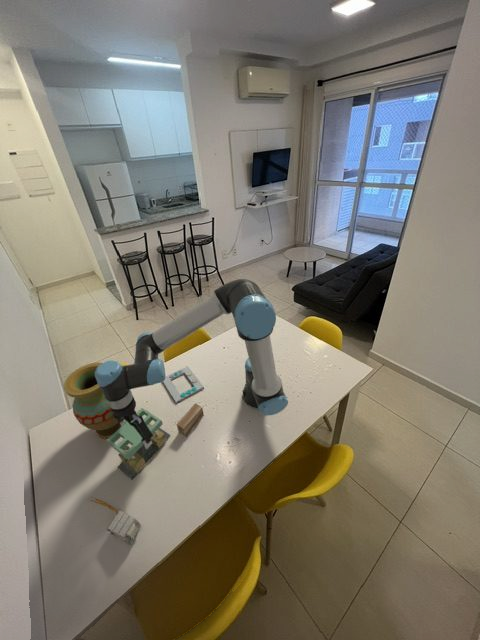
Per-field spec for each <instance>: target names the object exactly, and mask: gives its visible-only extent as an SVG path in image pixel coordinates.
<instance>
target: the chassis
mask: <svg viewBox="0 0 480 640" xmlns="http://www.w3.org/2000/svg"><path fill="white" fill-rule="evenodd" d="M152 425H153V424H151V423H149V424H148V426H149V427H151V426H152ZM170 437H171V434H170V433H168V432H167V431H165V430H164V429H163V428H161V427H160V428H159V429H158V430H157V431H156V432H155V433H154V434H153V436H152V437H151V441H152V444H151V445H150V446H149V447H148V449H146V448H145V446H144V444H143V445H142V447H141V448H140V449H139V450H138V451H137V452H136V453H135V454H134V455H133V456H132V457H131V458H130V459H129V460H128V459H126V458H125V457H124V456H123V455H121V454H120V453H119V452H118V455H117V456H118V457H119V459H120V461H121V463H120V464H119V465H118V466H117V467H116V468H117V469H118V470H119V471H120V472H122V473H123V474H124V475H126V477H128V479H130V480H131V481H132V480H133V479H134V478H135V477H136V476H137V475H138V474H139V473H140V471H141V470H142V469H143V468H144V467H145V466H146V465H147V463H148V462H149V461H150V460H151V459H152V458H153V457H154V455H155V454H156V453H158V451H159V450H160V449H161V447H163V445H164V444H165V443H166V442H167V441H168V439H170ZM130 447H131V446H128V445H127V446H126V447H125V448H124V449H123V451H125V452H127V451H128V449H129V448H130Z"/></svg>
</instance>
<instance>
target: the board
mask: <svg viewBox="0 0 480 640" xmlns="http://www.w3.org/2000/svg"><path fill="white" fill-rule="evenodd" d="M136 414H137V415H138V417H139V416H142V417H143V416H146V417H144V418H143V420H144V422H145V423H146V425H147V427H148V428H149V430H150V431H151V433H152V434H154V433H155V432H156V431H157V430H158V429H159V428H161V427H162V426H163V421H162V419H160V418H159V417H157V416H155V415H154V414H153V413H151V412H150V411H147V410H146V409H144V408H143V407H141V408H140V409H139V410H138V411H136ZM133 421H134V420H133ZM133 421H131V423H132V422H133ZM152 421H153V424H151V422H152ZM148 424H151V425H152V426H151V427H149V426H148ZM121 438H122V440H121V441H120V442H119V443H118V444H116V442H117V441H118V440H119V439H121ZM141 438H142V437H141V436H140V434H139V433H138V432H137V431H136V429H135V428H134V427H133V426H131V425H130V424H129V423H128V422H126V423H125V424H124V425H123V426H122V427H120V428H119V429H118V430H117V431H116V432H115V433H114V434H113V435H112V436H111V437H110V438H109V439H105V440H106V442H107V445H109V446H110V447H111V448H113V449H114V450H115V451H116V452H118V454H119V453H120V454H121V455H123V456H124V457H125V458H126V459H128V460H129V459H130V458H131V457H132V456H133V455H134V454H135V453H136V452H137V451H138V450H139V449H140V448H141V447H142V445H143V442H142V441H141V440H142V439H141ZM129 444H130V445H131V446H129V447H130V448H129V449H128V451H127V452H125V451H123V449H124V448H125V447H126V446H128V445H129Z"/></svg>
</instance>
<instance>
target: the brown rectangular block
mask: <svg viewBox="0 0 480 640" xmlns="http://www.w3.org/2000/svg"><path fill="white" fill-rule="evenodd" d="M203 417H204V409H203V406H201V405H199V404H197V403H194V404H192V406H191V407H190V408H189V409H188V411H186V413H185V414H184V415H183V416H182V417H181V418H180V420H179V421H177V422H176V428H177V430H178V433H179V434H181V435H182V436H184V437H185V438H187V436H188V435H189V434H190V433H191V432H192V430H193V429H194V428H195V427H196V425H198V423H199V422H200V421H201V420H202V419H203Z"/></svg>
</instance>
